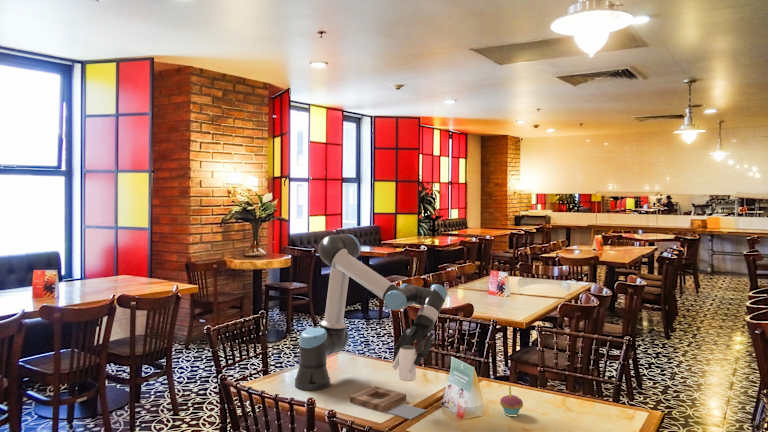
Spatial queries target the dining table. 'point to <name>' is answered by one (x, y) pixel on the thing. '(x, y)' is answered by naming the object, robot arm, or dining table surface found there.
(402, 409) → the mat
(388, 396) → the holder
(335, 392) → the dining table surface
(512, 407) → the cupcake
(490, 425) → the dining table surface
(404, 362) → the can
